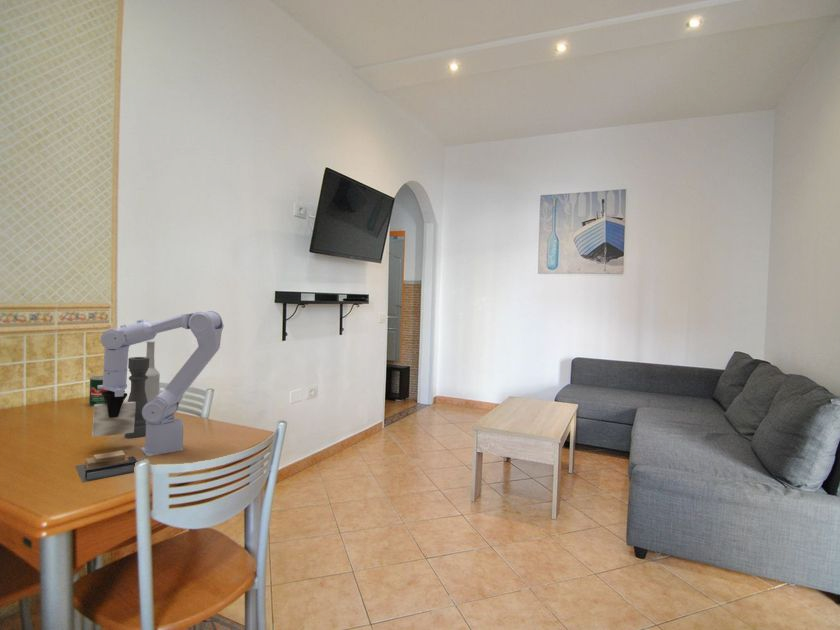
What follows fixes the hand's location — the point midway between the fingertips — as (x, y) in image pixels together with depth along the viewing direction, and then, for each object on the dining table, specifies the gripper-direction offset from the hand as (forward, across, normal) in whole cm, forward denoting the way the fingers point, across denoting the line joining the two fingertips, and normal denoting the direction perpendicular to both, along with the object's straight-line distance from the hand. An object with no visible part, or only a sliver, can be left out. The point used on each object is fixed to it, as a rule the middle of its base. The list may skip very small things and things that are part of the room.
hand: (112, 416), depth 131 cm
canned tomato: (+11, -60, +6) cm, 61 cm away
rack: (+10, +17, -3) cm, 20 cm away
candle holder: (+10, -11, +8) cm, 17 cm away
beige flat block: (+5, 0, 0) cm, 5 cm away
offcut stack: (+9, +13, -3) cm, 16 cm away
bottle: (+10, -32, +16) cm, 37 cm away
